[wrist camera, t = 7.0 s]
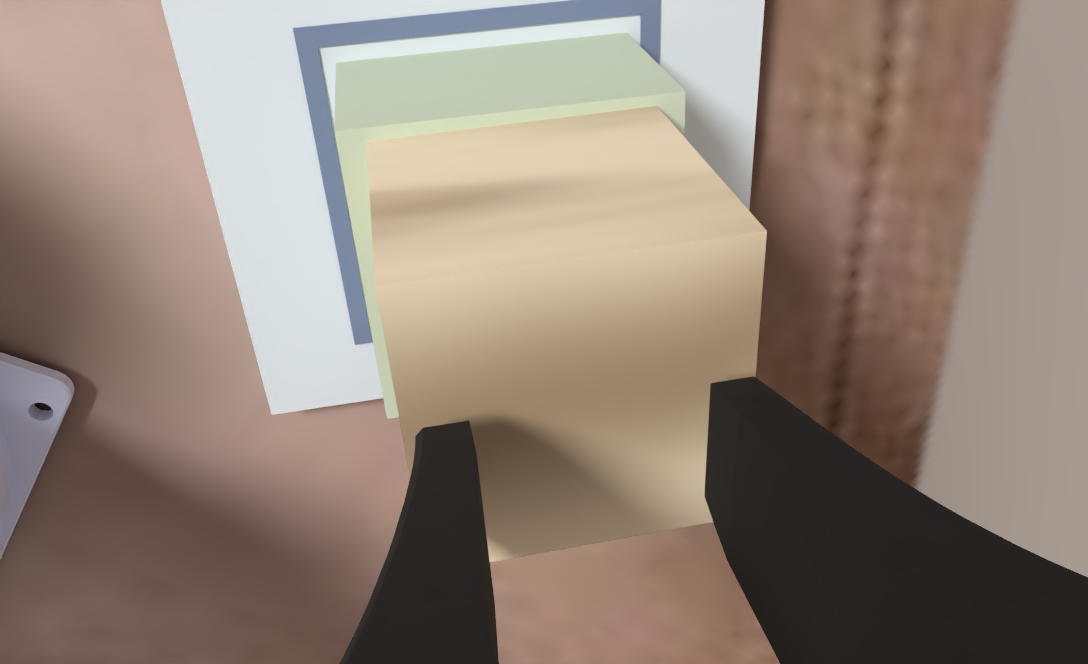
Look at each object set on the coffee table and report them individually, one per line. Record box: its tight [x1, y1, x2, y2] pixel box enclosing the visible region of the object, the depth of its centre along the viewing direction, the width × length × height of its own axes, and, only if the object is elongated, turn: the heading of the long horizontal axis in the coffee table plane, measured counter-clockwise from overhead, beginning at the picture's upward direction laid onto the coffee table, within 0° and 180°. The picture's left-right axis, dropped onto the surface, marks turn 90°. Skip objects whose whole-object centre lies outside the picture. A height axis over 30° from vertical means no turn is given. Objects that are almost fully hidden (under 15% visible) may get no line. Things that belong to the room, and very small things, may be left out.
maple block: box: [366, 106, 767, 562], centre depth 15 cm, size 5×5×5 cm
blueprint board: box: [161, 0, 765, 415], centre depth 19 cm, size 18×12×1 cm, turn 3°
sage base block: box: [334, 32, 686, 419], centre depth 19 cm, size 6×6×4 cm
